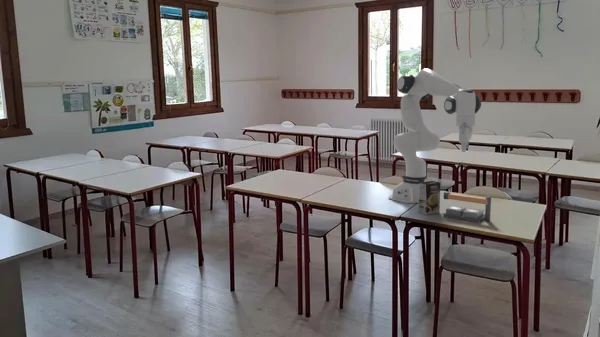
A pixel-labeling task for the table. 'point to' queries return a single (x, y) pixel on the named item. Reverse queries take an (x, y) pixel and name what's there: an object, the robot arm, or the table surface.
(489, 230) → the table surface
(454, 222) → the table surface
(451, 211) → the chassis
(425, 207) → the coffee box
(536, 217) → the table surface
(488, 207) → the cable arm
